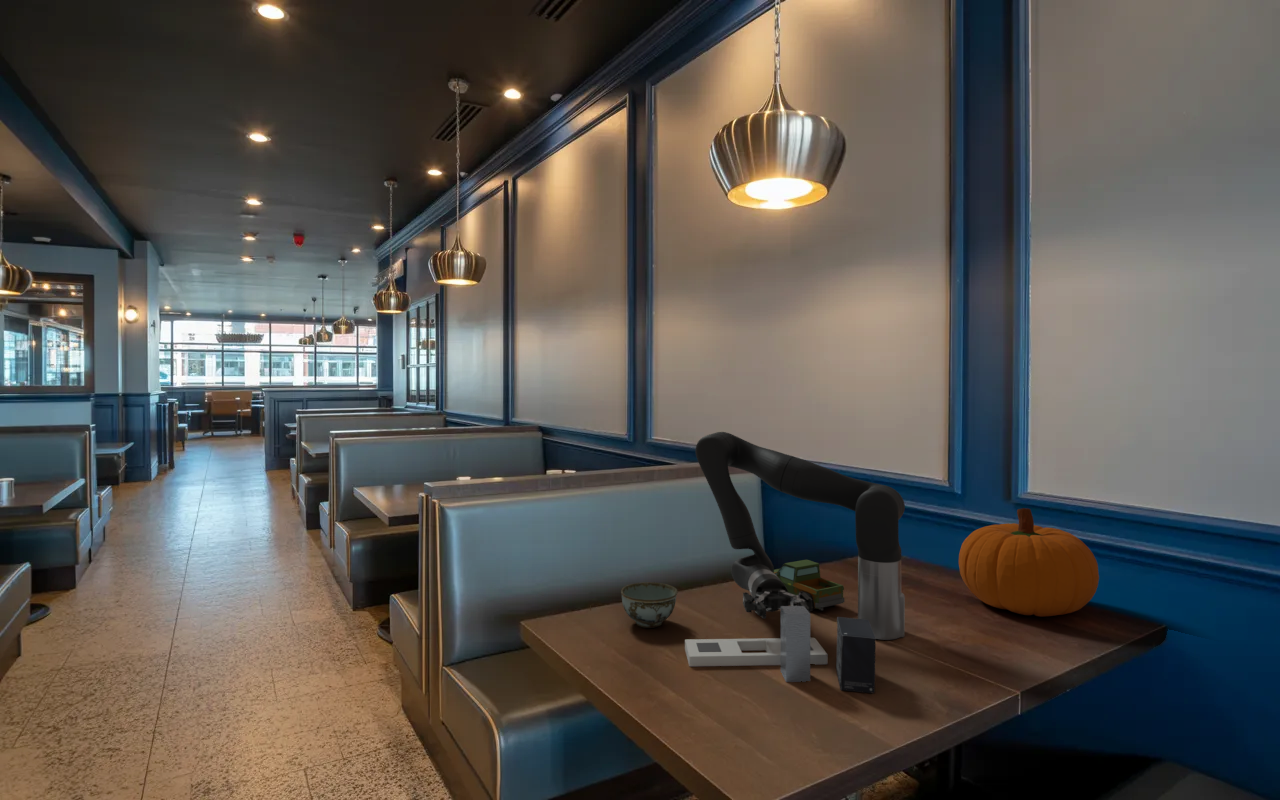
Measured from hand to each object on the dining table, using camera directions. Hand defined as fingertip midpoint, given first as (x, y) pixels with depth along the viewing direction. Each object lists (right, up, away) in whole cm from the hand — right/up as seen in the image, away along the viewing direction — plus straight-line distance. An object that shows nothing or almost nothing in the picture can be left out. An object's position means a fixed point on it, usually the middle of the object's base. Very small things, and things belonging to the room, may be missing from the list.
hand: (785, 613), depth 138 cm
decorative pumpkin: (+68, -9, +33) cm, 76 cm away
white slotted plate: (-6, -9, +1) cm, 11 cm away
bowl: (-28, -9, +21) cm, 36 cm away
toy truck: (+13, -9, +37) cm, 40 cm away
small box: (+11, -10, -10) cm, 18 cm away
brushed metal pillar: (0, -10, -8) cm, 13 cm away
